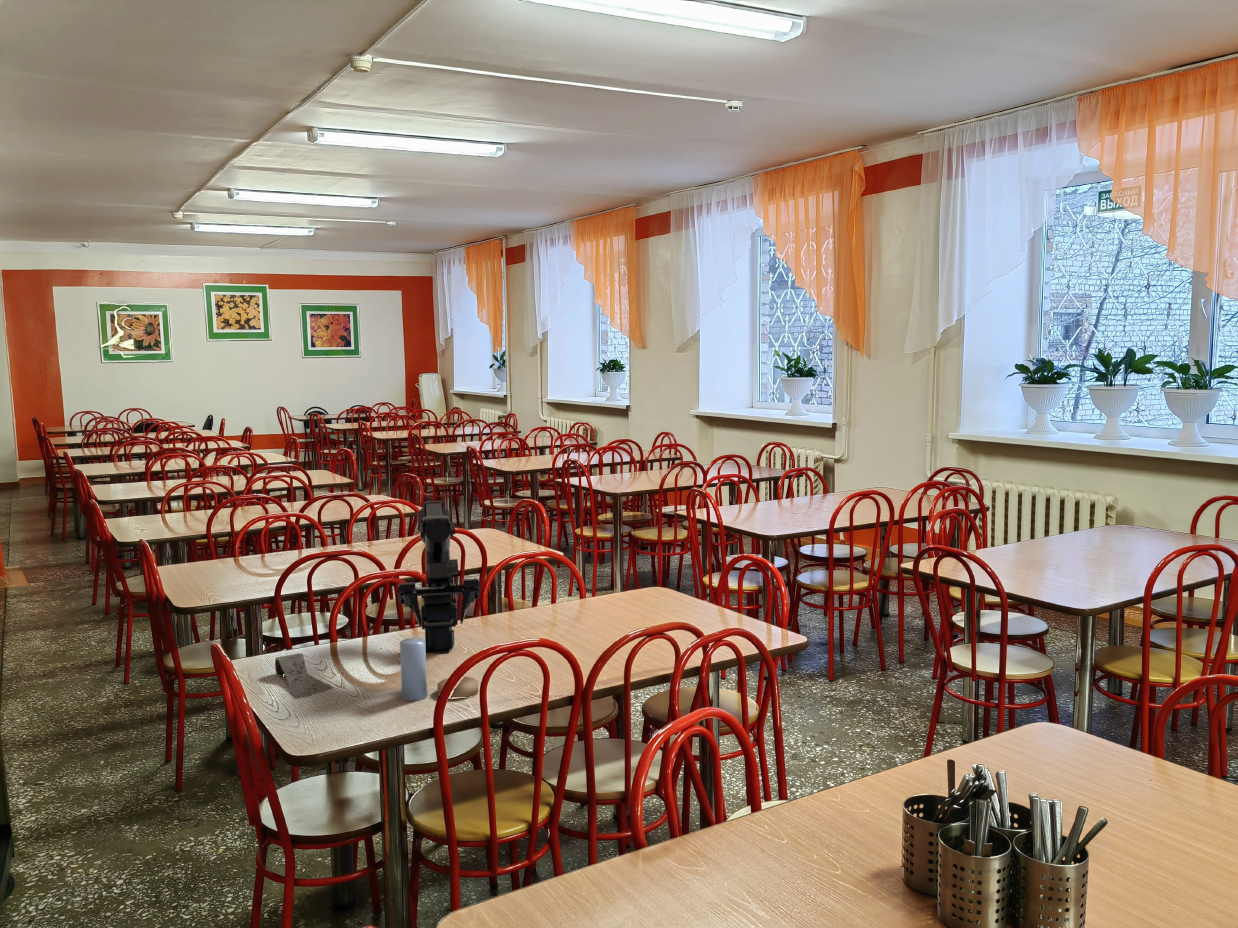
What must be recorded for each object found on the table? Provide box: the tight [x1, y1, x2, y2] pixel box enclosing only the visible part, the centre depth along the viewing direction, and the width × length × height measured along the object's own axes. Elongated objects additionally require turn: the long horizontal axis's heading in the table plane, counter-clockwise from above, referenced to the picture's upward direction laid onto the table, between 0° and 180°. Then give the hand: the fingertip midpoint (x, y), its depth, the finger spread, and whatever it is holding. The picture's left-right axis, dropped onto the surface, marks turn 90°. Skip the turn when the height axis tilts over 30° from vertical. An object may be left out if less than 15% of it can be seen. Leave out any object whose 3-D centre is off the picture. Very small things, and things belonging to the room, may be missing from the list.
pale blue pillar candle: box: [399, 637, 428, 702], centre depth 206 cm, size 5×5×12 cm
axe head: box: [274, 652, 334, 699], centre depth 216 cm, size 21×5×10 cm
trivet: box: [436, 676, 479, 698], centre depth 209 cm, size 9×9×2 cm
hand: (441, 624), depth 213 cm, fingers open, 9 cm apart
